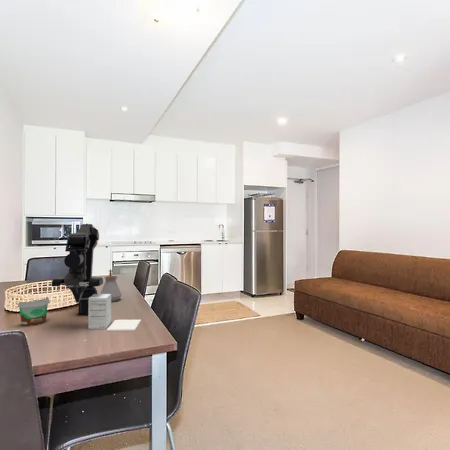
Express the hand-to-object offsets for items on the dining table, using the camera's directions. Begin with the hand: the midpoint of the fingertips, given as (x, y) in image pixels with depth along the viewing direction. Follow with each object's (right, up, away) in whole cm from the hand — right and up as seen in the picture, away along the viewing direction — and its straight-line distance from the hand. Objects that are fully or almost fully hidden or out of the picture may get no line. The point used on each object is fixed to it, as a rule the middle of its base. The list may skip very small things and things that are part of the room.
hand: (77, 302), depth 132 cm
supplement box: (+9, -10, +1) cm, 13 cm away
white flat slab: (+19, -10, +1) cm, 21 cm away
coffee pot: (-4, -10, +49) cm, 50 cm away
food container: (-18, -10, +3) cm, 21 cm away
